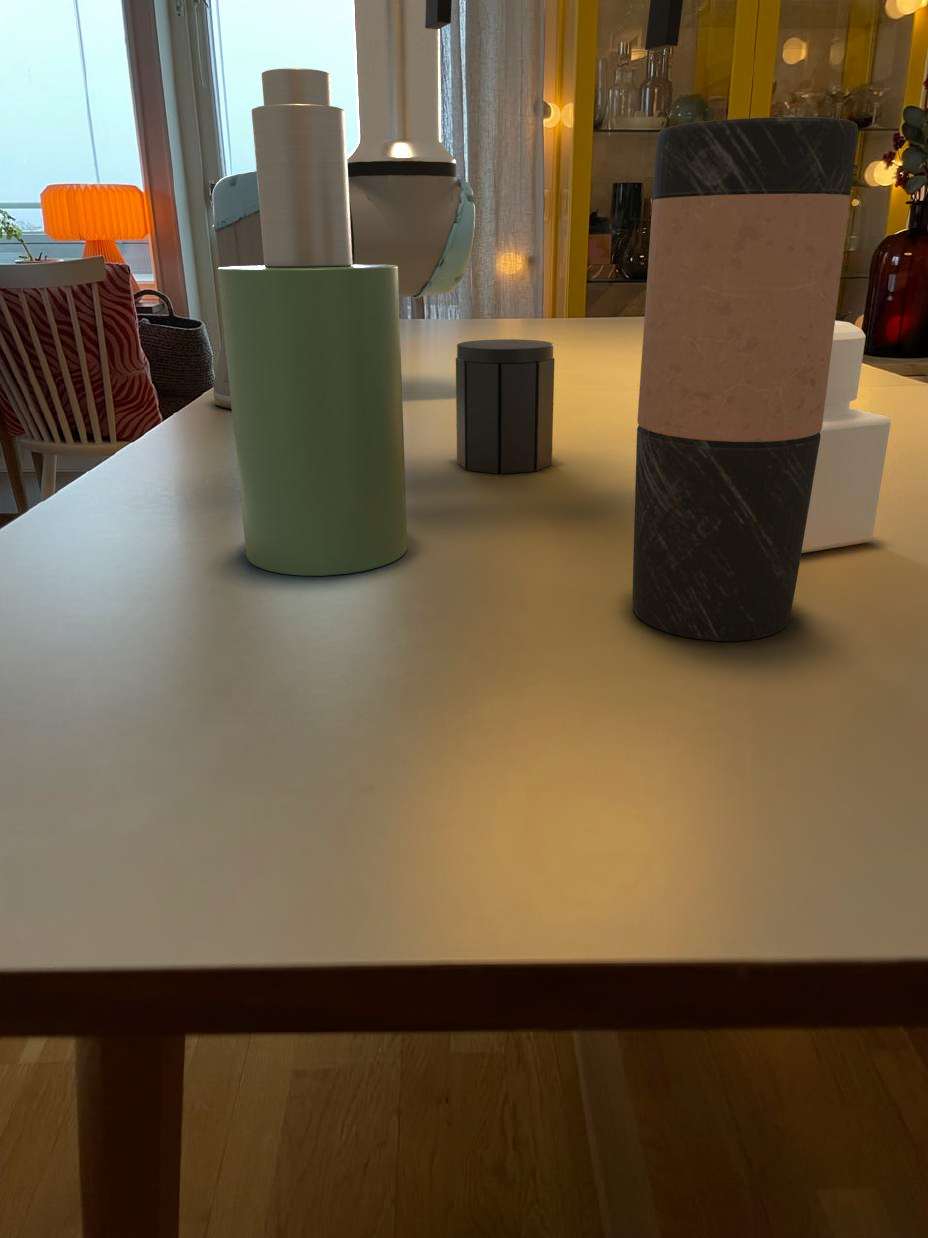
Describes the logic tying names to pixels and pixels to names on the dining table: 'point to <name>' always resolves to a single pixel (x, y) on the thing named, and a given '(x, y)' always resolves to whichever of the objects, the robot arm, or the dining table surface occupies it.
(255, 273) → the flask
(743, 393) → the travel mug
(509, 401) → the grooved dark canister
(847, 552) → the dining table surface
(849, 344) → the medicine bottle
